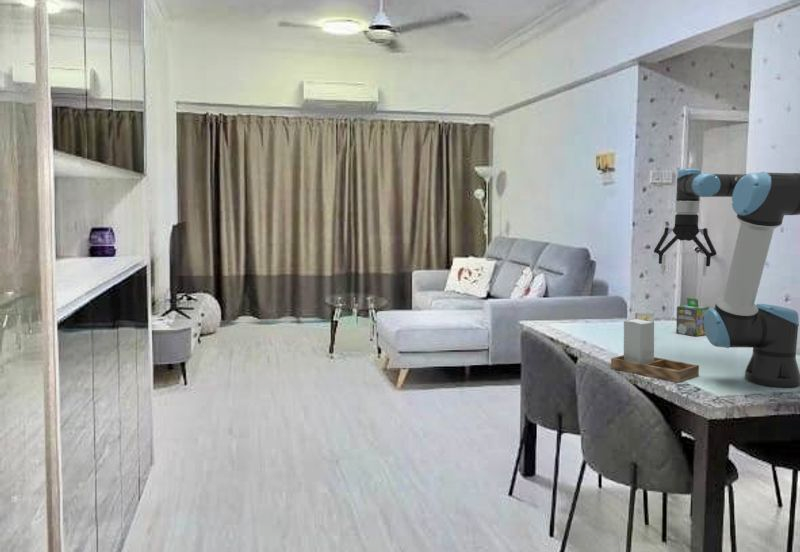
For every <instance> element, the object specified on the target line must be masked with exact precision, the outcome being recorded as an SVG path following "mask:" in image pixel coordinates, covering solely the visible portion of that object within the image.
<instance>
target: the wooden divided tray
mask: <svg viewBox="0 0 800 552" xmlns="http://www.w3.org/2000/svg"><path fill="white" fill-rule="evenodd" d="M610 369H612V370H617V371H622V372H627V373H631V374H636V375H639V376H640V375H641V376H645V377H651V378H653V379H654V378H655V379H659V378H660V379H659V380H663V379H665V380H664V381H668V380H670V381H669V382H673V381H674V383H677V382H679V383H681V381H682V382H685V381H688V380H690V378H691V379H693V377H694V378H696V377H698V376H699V375H700V374H699V372H700V365H697V364H693V363H688V362H683V361H677V360H671V359H667V358H662V357H658V356H656V357H655V356H654V361H653V362H650V363H646V364H641V363H636V362H631V361H626V360H624V354H623V355H619V356H615V357H611V359H610ZM687 379H688V380H687ZM684 380H685V381H684Z"/></svg>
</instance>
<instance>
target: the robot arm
mask: <svg viewBox="0 0 800 552" xmlns="http://www.w3.org/2000/svg"><path fill="white" fill-rule="evenodd" d="M675 197H676V200H675V213H676V214H675V216H674V226H673V227H669V226H665V228H664V231H663V233H662V234H663V235H661V238H660V239H659V242H658V243H657V244H656V247H655V248H654V250H653V253H655V254H656V255H657V254H658V264H659V265H661V271H660V272H661V274H663V275H664V274H665V273H666V257H667V256H666V254H664V253H666V252H667V250H669V249H670V248H671V247H672V246H673V245H674V244H675V243H676V242H677V241H678V240H679V241H686V242H691V241H693V242H694V243H695V244H696V246H698V248H699V249H700V250H701V252H702V253H703V254H704V255H705V256H704V257H703V268H702V270H703V271H702V276H703V277H706V276H707V269H708V268H707V267H711V258H712V257H715V256H716V255H717V250H716V249H715V246H714V245H713V243H712V240H711V238H710V237H709V231H708V228H707V227H705V228H699V215H698V213H699V212H700V197H701V198H706V197H707V198H716V197H717V198H720V197H721V198H731V201H732V203H731V206H732V207H731V208H732V209H733V211H734V212H735V214H736V218H737V219H738V221H739V223H740V226H739V230H738V234H737V238H736V241H735V246H734V250H733V254H732V259H731V262H730V267H729V271H728V275H727V279H726V283H725V287H724V291H723V294H722V295H723V296H721V297H719V298H717V299H716V301H715V305H714V308H712V307H711V308H710V307H709V309H708V310H707V311H706V312H705V314H704V330H705V333H706V334H705V335H706V338H707V340H708V341H709V343H710V345H712V346H714V347H717V348H726V349H729V348H752V355H751V358H750V360H749V361H748V363H747V366H746V368H745V371H744V379H745V380H746V381H748V382H750V383H753V384H756V385H757V384H758V385H763V386H768V387H776V388H795V387H798V386H800V369H799V365H798V362H797V359H796V358H797V345H798V334H799V333H798V331H799V326H800V324H799V323H800V322H799V313H798V311H796V310H795V309H792V308H788V307H783V306H778V305H774V304H773V305H772V304H768V303H767V304H766V303H756V300H757V299H756V298H757V296H758V295H757V294H758V291H759V287H760V283H761V279H762V275H763V271H764V267H765V265H766V260H767V257H768V254H769V253H768V252H769V249H770V246H771V243H772V238H773V235H774V231H775V229H776V228H778V227H780V226H781V225H782V224H783V219H784V217H785V216H799V215H800V172H765V171H761V172H750V173H744V174H743V173H741V174H739V173H737V174H736V173H735V174H734V173H730V174H727V173H709V172H708V173H707V172H703V173H702V172H701V169H699V168H680V169H678V171H677V177H676V196H675ZM672 232H673V234H674V235H675V236H673V238H672V239H670V241H669V242H668V243H667V244H666V245H665V246H664V247H663V248H662V245H663V244H664V243H665V241H666V239H667V237H668V236H669V234H671V233H672ZM699 233H700V234H701V235H703V237H704V240H705V242H706V244H707V246H708V248H709V250H710V251H708V249H707V248H706V247H705V246H704V244H703V243H702V242H701V241H700V239H699V238H698V237H697V235H698V234H699ZM661 248H662V249H661Z"/></svg>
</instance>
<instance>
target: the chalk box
mask: <svg viewBox="0 0 800 552" xmlns="http://www.w3.org/2000/svg"><path fill="white" fill-rule="evenodd" d="M686 302H687V304H684V305H683V304H682V305H678V306H677V307H676V330H675V331H676V333H675V334H679V335H680V334H681V335H685V336H689V337H701V336H704V335H706V333H705V330H704V314H705V312H706V311H707V310H708V309H710V306H707V305H699V300H698V299H697V298H690V297H687V298H686ZM691 302H694V304H693V303H691Z"/></svg>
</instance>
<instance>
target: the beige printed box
mask: <svg viewBox="0 0 800 552" xmlns="http://www.w3.org/2000/svg"><path fill="white" fill-rule="evenodd" d="M654 314H655V313H649V312H648V313H643V312H635V315H634V316H635V317H634V319H639V320H644V321H651V322H654V321H655V317H654V316H655V315H654ZM654 323H655V322H654Z"/></svg>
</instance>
